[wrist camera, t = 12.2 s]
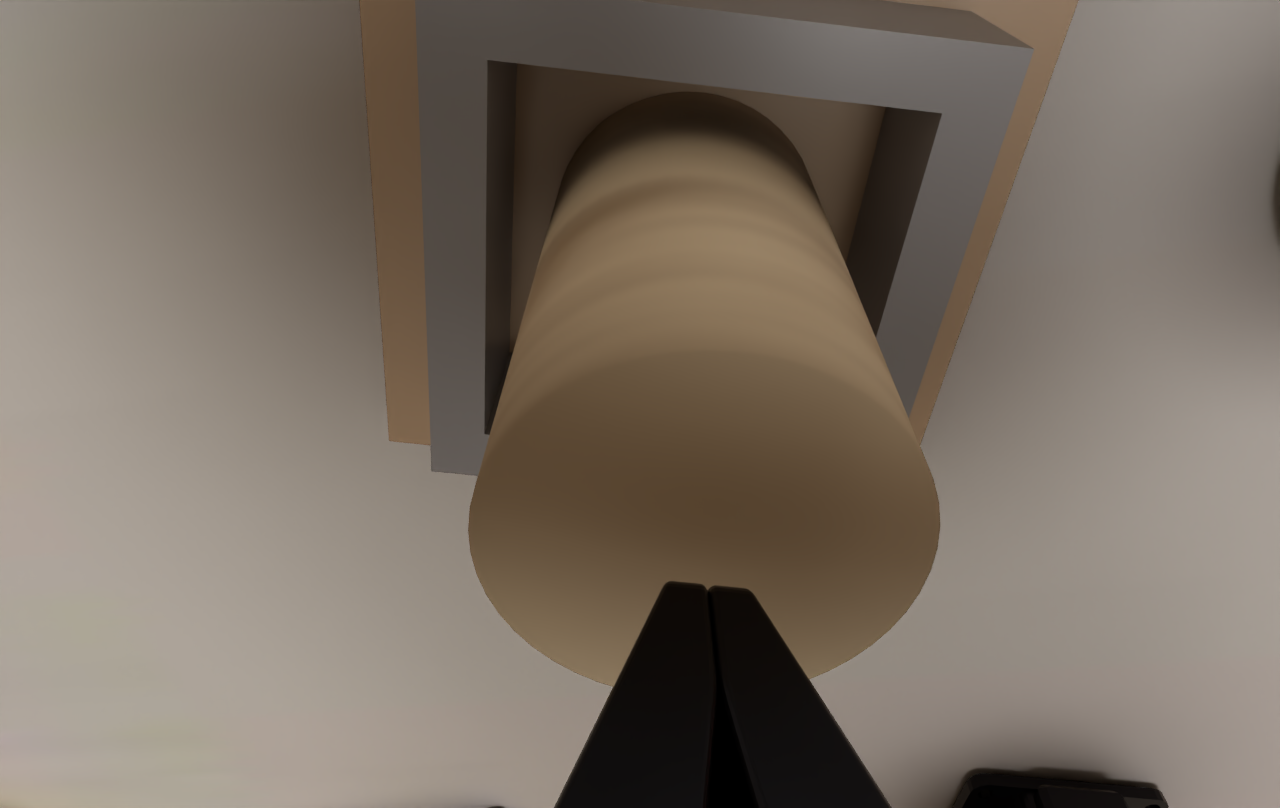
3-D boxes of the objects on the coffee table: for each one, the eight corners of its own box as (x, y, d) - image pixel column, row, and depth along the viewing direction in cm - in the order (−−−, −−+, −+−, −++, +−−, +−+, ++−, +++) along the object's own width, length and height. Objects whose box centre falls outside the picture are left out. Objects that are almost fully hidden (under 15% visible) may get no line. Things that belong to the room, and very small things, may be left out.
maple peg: (787, 348, 18) (873, 714, 11) (550, 324, 18) (470, 681, 11) (841, 107, 15) (1007, 377, 8) (562, 77, 15) (464, 324, 8)
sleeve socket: (891, 462, 21) (935, 586, 18) (402, 411, 21) (349, 529, 17) (1081, -98, 15) (1210, -75, 11) (369, -189, 14) (271, -194, 11)
